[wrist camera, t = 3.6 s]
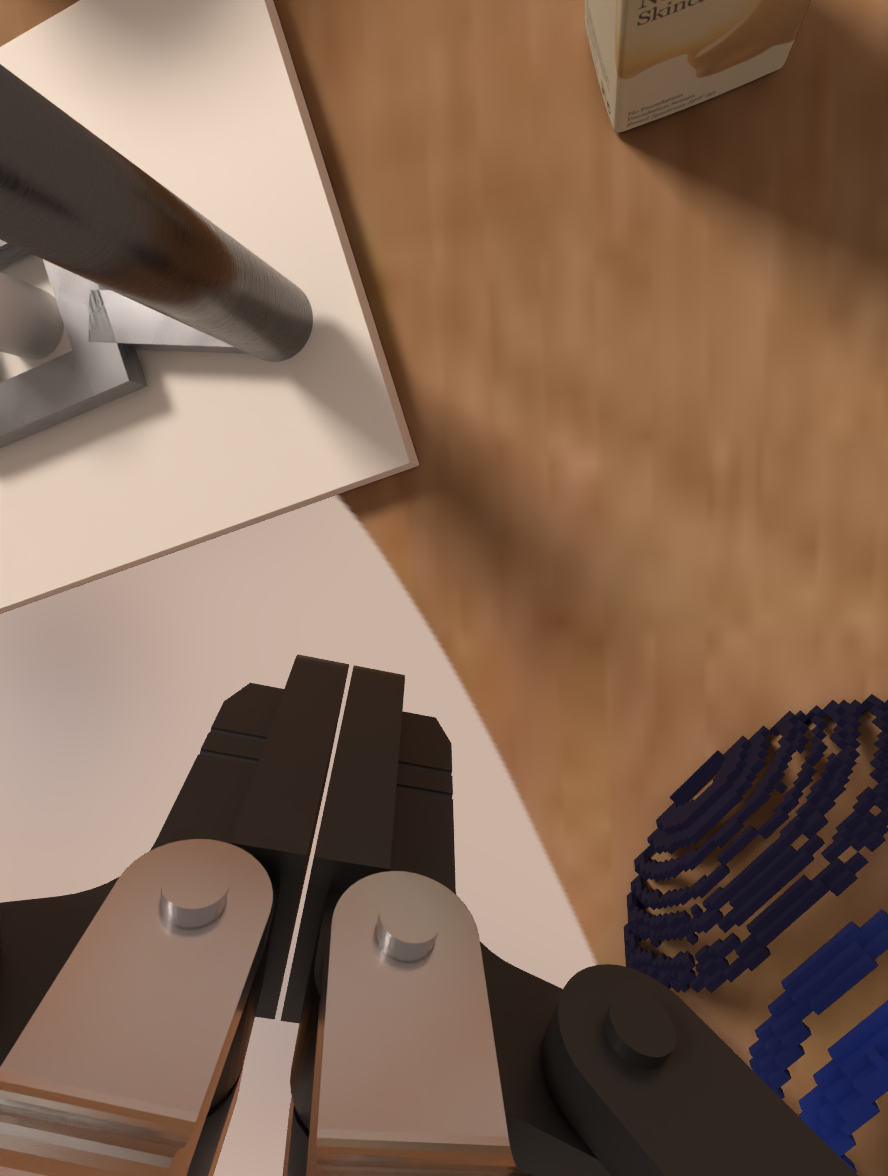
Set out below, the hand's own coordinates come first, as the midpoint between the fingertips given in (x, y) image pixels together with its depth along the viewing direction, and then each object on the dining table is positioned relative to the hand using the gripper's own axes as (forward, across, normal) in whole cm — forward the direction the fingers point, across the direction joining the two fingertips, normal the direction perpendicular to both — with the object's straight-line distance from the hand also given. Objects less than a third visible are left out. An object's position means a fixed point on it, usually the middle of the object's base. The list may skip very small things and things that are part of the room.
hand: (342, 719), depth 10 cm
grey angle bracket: (+25, -16, +3) cm, 30 cm away
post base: (+26, -16, -1) cm, 31 cm away
